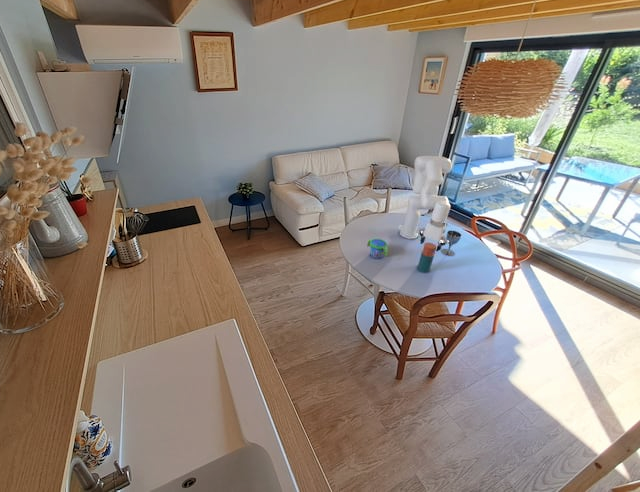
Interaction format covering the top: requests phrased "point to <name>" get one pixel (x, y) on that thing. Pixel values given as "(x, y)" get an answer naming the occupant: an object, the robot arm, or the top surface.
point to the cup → (429, 249)
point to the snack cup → (377, 248)
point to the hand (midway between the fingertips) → (429, 246)
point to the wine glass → (451, 241)
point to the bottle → (425, 263)
